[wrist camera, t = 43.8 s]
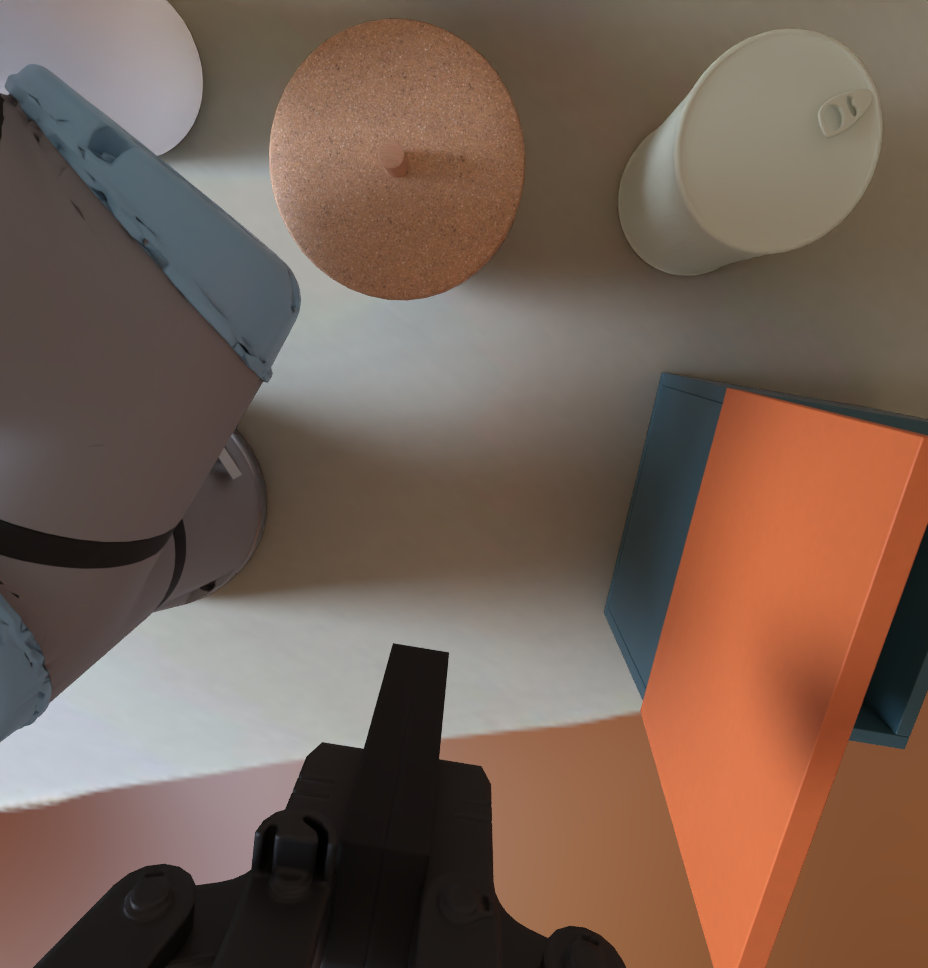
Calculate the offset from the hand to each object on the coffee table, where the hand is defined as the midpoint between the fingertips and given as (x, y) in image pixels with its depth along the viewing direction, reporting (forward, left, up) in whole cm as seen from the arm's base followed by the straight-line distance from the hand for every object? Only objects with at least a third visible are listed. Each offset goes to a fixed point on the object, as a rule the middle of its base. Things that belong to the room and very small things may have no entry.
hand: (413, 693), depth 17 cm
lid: (+12, 0, -8) cm, 14 cm away
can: (+12, +20, -28) cm, 36 cm away
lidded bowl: (-5, +17, -28) cm, 33 cm away
